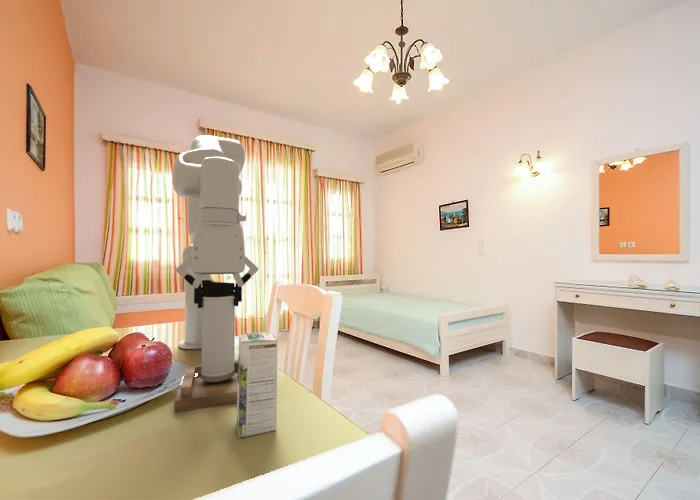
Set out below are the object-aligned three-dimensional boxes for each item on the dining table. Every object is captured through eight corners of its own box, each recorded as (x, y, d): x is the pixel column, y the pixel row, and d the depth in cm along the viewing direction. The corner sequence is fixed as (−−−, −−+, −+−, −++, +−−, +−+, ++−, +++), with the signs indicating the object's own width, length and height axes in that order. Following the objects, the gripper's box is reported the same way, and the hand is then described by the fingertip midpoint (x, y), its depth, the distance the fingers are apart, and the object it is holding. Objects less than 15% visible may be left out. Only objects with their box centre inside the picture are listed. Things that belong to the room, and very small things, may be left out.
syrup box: (235, 421, 54) (236, 334, 54) (271, 414, 56) (272, 331, 57) (238, 439, 49) (239, 342, 49) (278, 430, 51) (278, 338, 52)
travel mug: (193, 379, 65) (193, 279, 65) (220, 369, 71) (220, 277, 71) (214, 385, 62) (215, 281, 62) (240, 374, 68) (241, 278, 68)
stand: (182, 383, 70) (183, 365, 70) (250, 375, 75) (250, 358, 75) (174, 412, 57) (174, 390, 57) (256, 399, 62) (256, 379, 62)
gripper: (260, 222, 74) (259, 301, 73) (174, 219, 67) (173, 305, 67) (264, 219, 67) (263, 306, 67) (169, 215, 60) (167, 311, 60)
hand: (218, 305), depth 67 cm, fingers closed on travel mug, 6 cm apart
